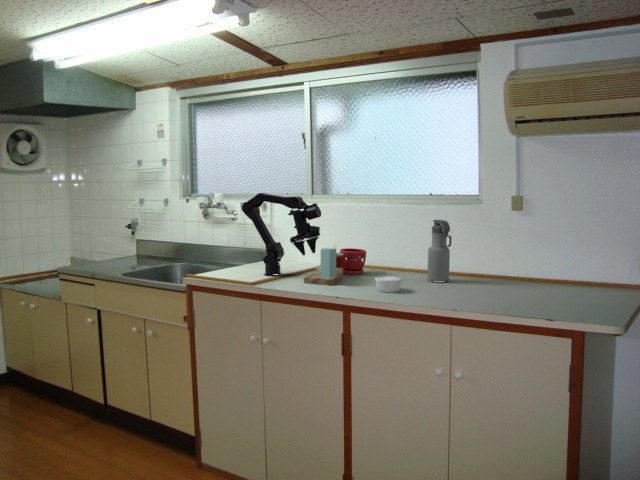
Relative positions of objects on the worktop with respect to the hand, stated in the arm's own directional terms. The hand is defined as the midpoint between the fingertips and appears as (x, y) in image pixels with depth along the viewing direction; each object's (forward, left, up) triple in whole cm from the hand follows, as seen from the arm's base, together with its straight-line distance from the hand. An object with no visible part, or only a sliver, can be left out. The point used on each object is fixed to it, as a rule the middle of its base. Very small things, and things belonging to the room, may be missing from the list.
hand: (309, 254), depth 253 cm
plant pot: (+15, +19, -11) cm, 27 cm away
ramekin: (+42, -14, -12) cm, 46 cm away
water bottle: (+58, +15, -11) cm, 61 cm away
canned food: (+10, +8, -11) cm, 17 cm away
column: (+13, -9, -9) cm, 18 cm away
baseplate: (+10, -6, -11) cm, 16 cm away
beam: (+10, -1, -9) cm, 14 cm away
